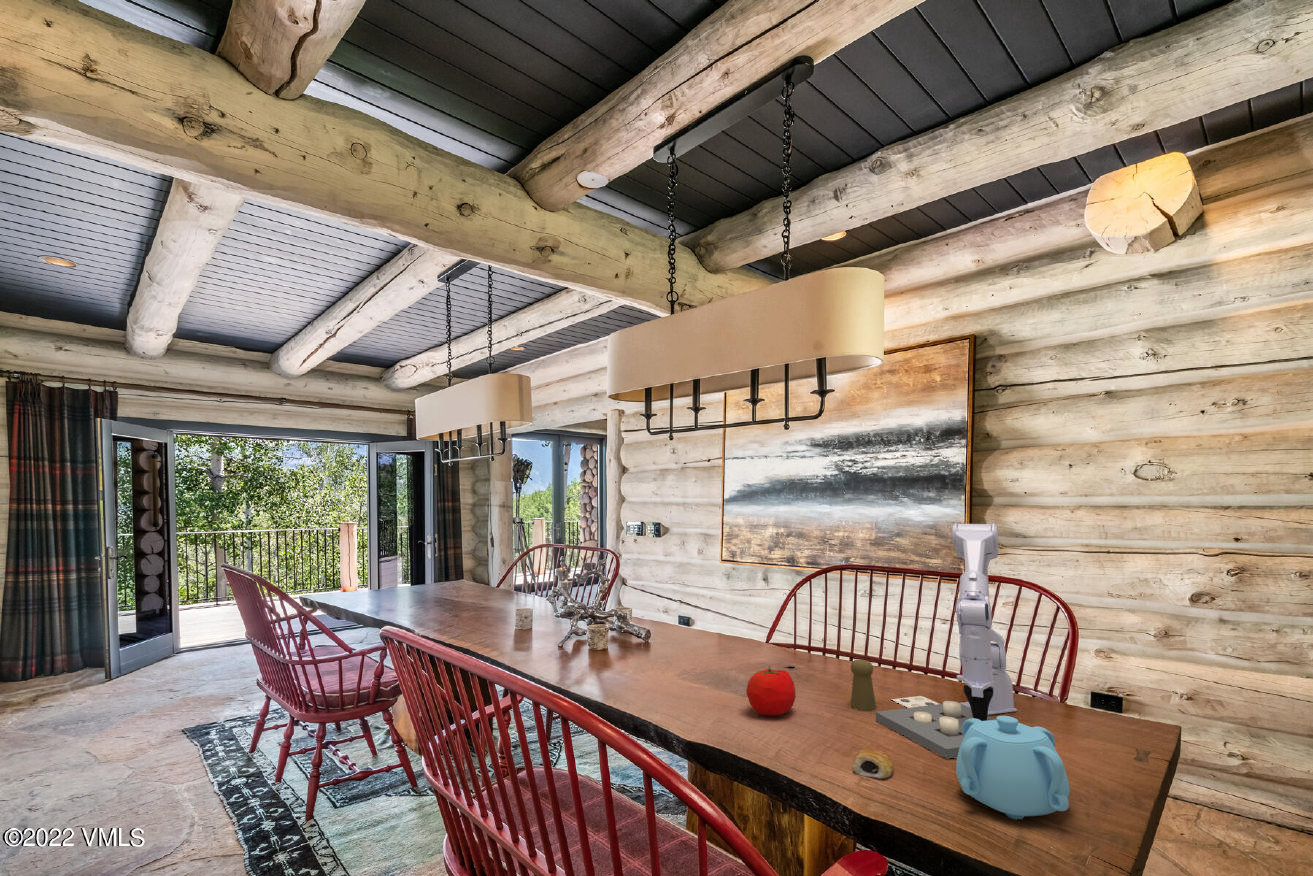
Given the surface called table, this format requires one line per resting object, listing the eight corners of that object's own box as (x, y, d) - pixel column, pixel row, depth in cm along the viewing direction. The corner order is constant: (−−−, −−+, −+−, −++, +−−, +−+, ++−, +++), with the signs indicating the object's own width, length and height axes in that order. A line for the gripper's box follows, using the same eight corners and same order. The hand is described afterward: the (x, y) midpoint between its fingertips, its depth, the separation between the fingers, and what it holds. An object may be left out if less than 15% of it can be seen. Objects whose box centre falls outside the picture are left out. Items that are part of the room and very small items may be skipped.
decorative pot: (964, 773, 113) (960, 696, 114) (1069, 795, 104) (1063, 711, 105) (952, 811, 99) (946, 723, 101) (1071, 839, 90) (1063, 743, 92)
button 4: (950, 729, 129) (949, 715, 130) (963, 736, 126) (962, 721, 126) (936, 731, 128) (935, 717, 129) (948, 738, 125) (948, 723, 125)
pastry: (863, 757, 121) (862, 736, 121) (899, 764, 117) (898, 743, 118) (851, 775, 113) (850, 753, 113) (889, 784, 109) (888, 761, 110)
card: (921, 697, 156) (921, 695, 156) (944, 707, 148) (944, 705, 148) (891, 700, 153) (891, 698, 153) (913, 711, 146) (913, 709, 146)
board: (955, 710, 146) (954, 702, 146) (1036, 746, 125) (1035, 735, 125) (876, 721, 139) (875, 711, 140) (947, 759, 118) (946, 749, 119)
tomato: (808, 715, 144) (807, 670, 145) (767, 725, 137) (766, 678, 138) (776, 702, 153) (774, 659, 154) (736, 711, 147) (735, 667, 148)
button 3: (924, 724, 137) (923, 710, 137) (935, 729, 133) (935, 716, 134) (910, 726, 136) (910, 712, 136) (922, 731, 132) (921, 717, 133)
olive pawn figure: (878, 712, 145) (876, 664, 146) (851, 710, 146) (850, 663, 148) (874, 703, 151) (872, 657, 152) (849, 702, 152) (847, 656, 153)
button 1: (953, 713, 139) (952, 700, 140) (965, 718, 136) (964, 705, 136) (940, 715, 138) (939, 701, 139) (952, 720, 135) (951, 706, 135)
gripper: (957, 647, 139) (960, 709, 138) (953, 662, 126) (957, 731, 125) (992, 651, 136) (996, 714, 134) (992, 666, 123) (997, 737, 122)
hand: (980, 723), depth 130 cm, fingers closed, pressing on button 2
